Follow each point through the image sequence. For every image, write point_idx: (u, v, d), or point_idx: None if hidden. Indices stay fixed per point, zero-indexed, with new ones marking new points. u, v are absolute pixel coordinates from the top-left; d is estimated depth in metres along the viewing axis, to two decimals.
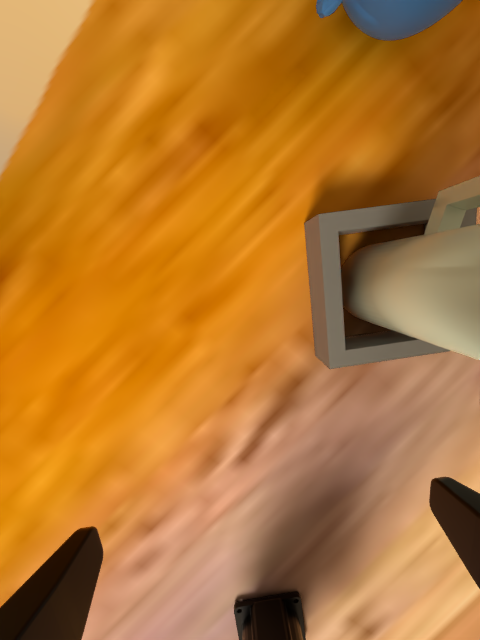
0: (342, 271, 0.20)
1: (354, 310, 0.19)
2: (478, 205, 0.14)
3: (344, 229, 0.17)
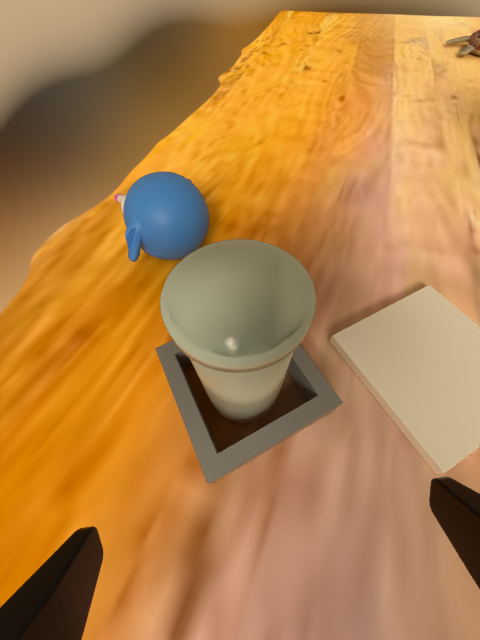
0: None
1: (222, 413, 0.20)
2: None
3: (178, 350, 0.21)
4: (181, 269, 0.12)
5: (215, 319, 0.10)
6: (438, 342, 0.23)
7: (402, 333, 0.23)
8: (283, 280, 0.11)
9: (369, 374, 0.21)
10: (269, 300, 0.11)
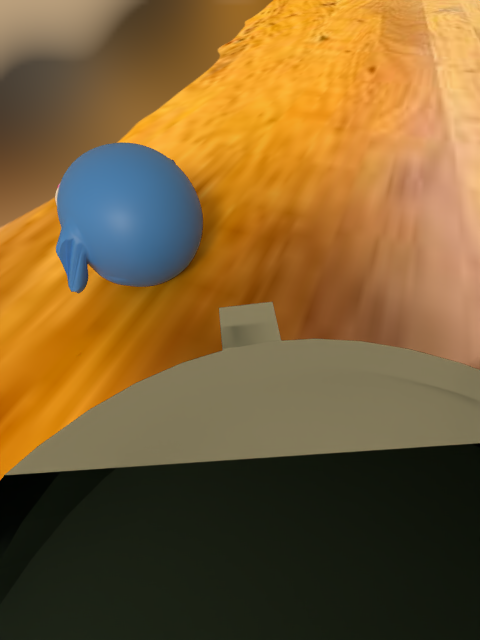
0: None
1: None
2: None
3: None
4: None
5: None
6: None
7: None
8: None
9: None
10: None
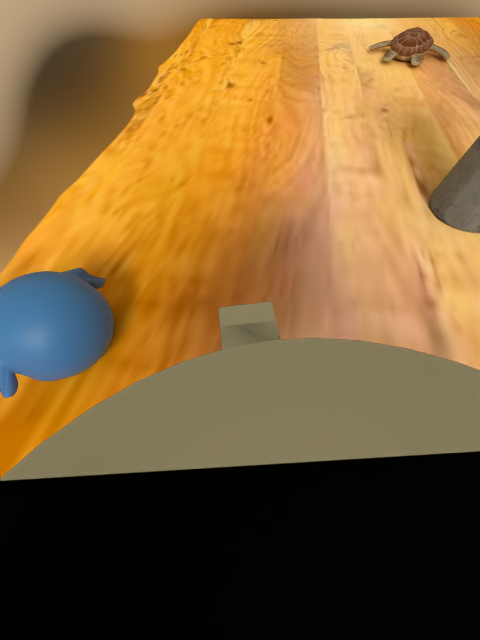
0: None
1: None
2: None
3: None
4: None
5: None
6: None
7: None
8: None
9: None
10: None
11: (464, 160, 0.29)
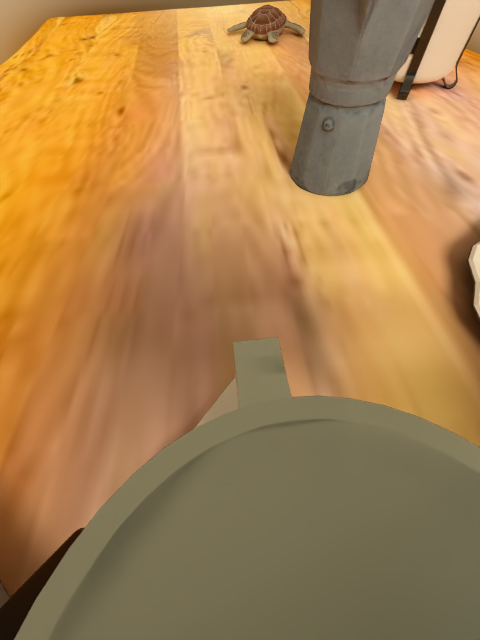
0: None
1: None
2: None
3: None
4: (81, 588, 0.03)
5: None
6: None
7: None
8: None
9: None
10: None
11: (303, 118, 0.26)
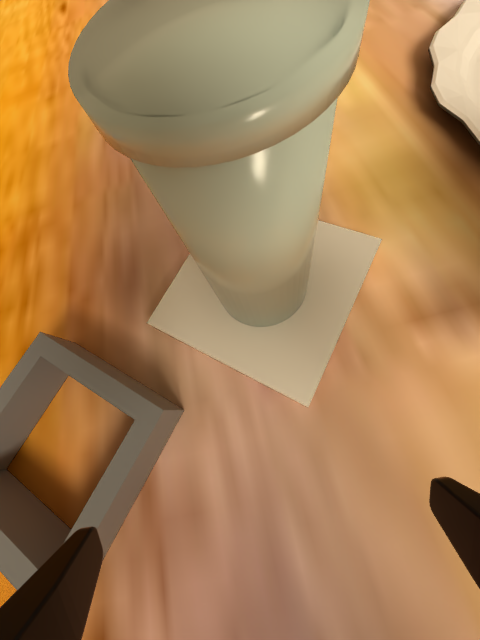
0: None
1: (241, 316, 0.15)
2: None
3: None
4: (98, 23, 0.06)
5: (171, 67, 0.05)
6: None
7: None
8: None
9: (200, 343, 0.17)
10: (270, 7, 0.05)
11: None
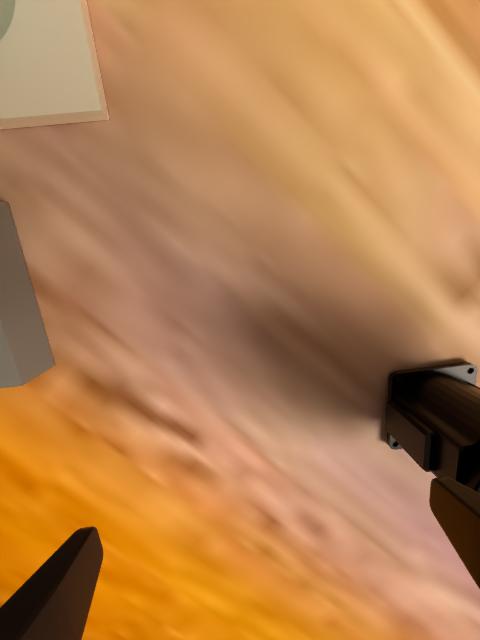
0: None
1: None
2: None
3: None
4: None
5: None
6: None
7: None
8: None
9: None
10: None
11: None
